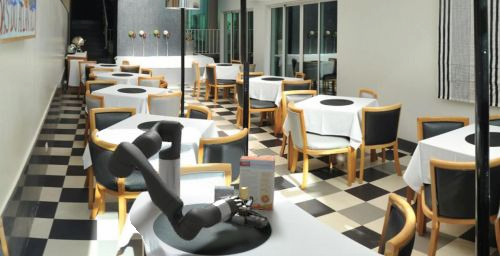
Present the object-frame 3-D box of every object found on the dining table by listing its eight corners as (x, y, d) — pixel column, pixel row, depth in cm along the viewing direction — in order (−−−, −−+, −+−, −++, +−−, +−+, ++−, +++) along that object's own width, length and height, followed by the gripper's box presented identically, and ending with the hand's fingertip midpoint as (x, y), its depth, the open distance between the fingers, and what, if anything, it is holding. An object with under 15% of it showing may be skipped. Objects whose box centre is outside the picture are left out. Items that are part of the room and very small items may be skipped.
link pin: (236, 218, 171) (237, 188, 169) (241, 216, 174) (242, 186, 172) (244, 221, 169) (245, 190, 167) (249, 218, 172) (250, 188, 170)
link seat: (232, 221, 170) (232, 214, 170) (242, 216, 176) (242, 209, 175) (244, 225, 168) (244, 217, 167) (253, 219, 173) (253, 212, 173)
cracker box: (273, 205, 189) (275, 157, 185) (272, 210, 183) (274, 160, 179) (240, 202, 191) (242, 154, 187) (238, 207, 185) (239, 158, 181)
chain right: (245, 224, 168) (245, 216, 168) (252, 220, 172) (252, 212, 172) (261, 228, 165) (261, 221, 164) (268, 224, 169) (268, 217, 168)
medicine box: (233, 205, 187) (234, 185, 186) (233, 209, 183) (234, 189, 181) (214, 205, 187) (214, 185, 185) (213, 209, 183) (214, 188, 181)
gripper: (205, 216, 163) (232, 203, 177) (237, 225, 155) (263, 211, 170) (205, 196, 161) (232, 184, 176) (238, 204, 154) (264, 191, 168)
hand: (247, 197), depth 173 cm, fingers closed on link pin, 3 cm apart
